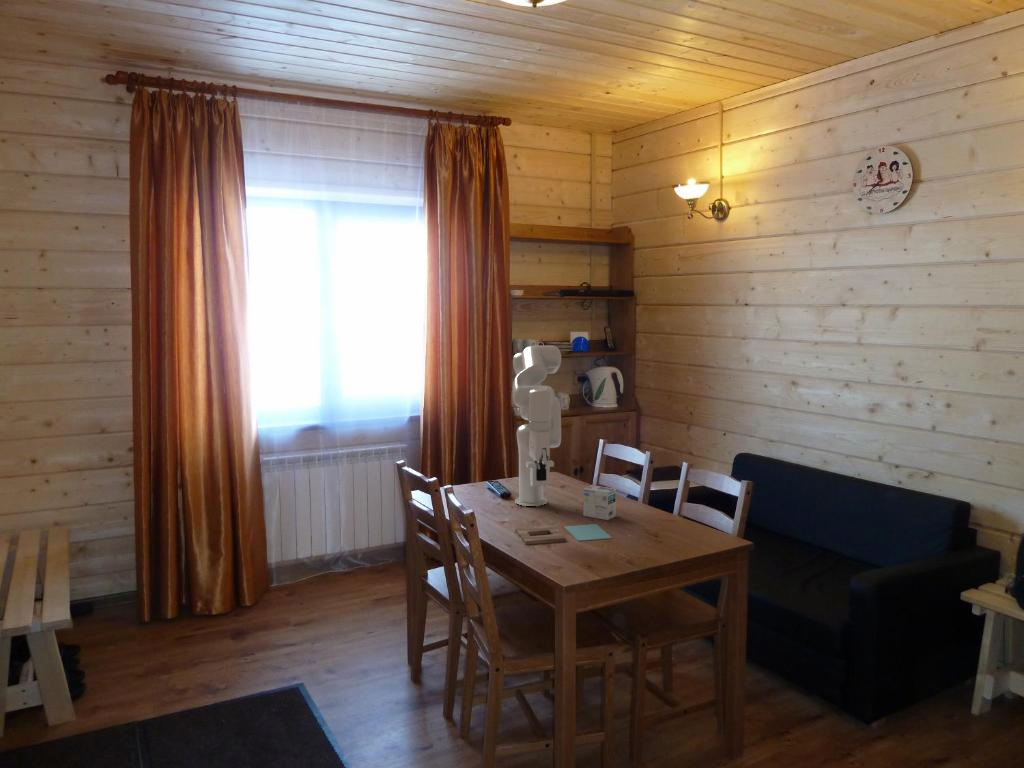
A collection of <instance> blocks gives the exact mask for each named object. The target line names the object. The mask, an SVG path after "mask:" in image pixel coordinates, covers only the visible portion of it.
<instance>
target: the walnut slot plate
mask: <svg viewBox="0 0 1024 768" xmlns="http://www.w3.org/2000/svg"><path fill="white" fill-rule="evenodd" d="M514 530H515V531H514V532H515V534H516V533H517V534H518V535H517V534H516V535H517V536H518V538H519V539H520V538H521V539H522V540H521V539H520V540H521V541H522V543H523V544H524V543H525V544H527V545H537V544H548V543H550V544H551V543H562V542H567V537H566V536H565V535H564V534H563V533H562V532H561V531H560V530H559V529H558V528H557V527H556V526H555V525H545V526H533V527H532V526H531V527H521V528H520V527H519V528H515V529H514ZM547 533H550V534H547ZM535 534H536V535H535ZM525 544H524V545H525Z"/></svg>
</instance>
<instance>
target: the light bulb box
mask: <svg viewBox="0 0 1024 768" xmlns="http://www.w3.org/2000/svg"><path fill="white" fill-rule="evenodd" d="M582 493H583V496H582V498H583V501H582V502H583V505H582V507H583V509H582V510H583V511H582V513H583V515H584V516H583V517H587V516H588V517H589V518H594V519H598V520H599V519H600V520H604V521H605V520H606V521H610V520H611V519H613V518H615V517H617V488H615V487H607V486H599V485H593V484H590V485H589V486H586V487H583V492H582Z"/></svg>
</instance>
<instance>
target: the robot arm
mask: <svg viewBox="0 0 1024 768" xmlns="http://www.w3.org/2000/svg"><path fill="white" fill-rule="evenodd" d="M561 364H562V353H561V350H560V349H559V348H558V347H557V346H556V345H549V344H548V345H530V346H527V347H525V348H524V349H523V350H522V352H518V353H516V354H515V355H514V356H513V358H512V366H513V370H514V373H515V377H514V380H513V382H512V398H513V399H512V400H513V403H514V405H515V406H516V407H518V408H519V412H520V417H521V418H522V419H523V420H525V421H528V423H525V424H521V425H520V426H518V428H517V430H516V440H517V447H518V497H517V498H515V499H514V503H515V504H516V503H517V504H519V505H518V506H520V505H522V506H521V507H526V506H536V507H541V505H542V506H544V504H545V505H546V504H548V500H547V498H546V497H544V486H537V487H532V486H531V485H530V468H527V467H526V462H530V461H538V469H537V481H545V480H546V465H547V461H548V460H550V456H551V454H550V453H551V449H555V448H559V447H560V445H561V443H562V413H561V412H562V411H561V408H562V407H561V403H560V400H559V398H558V397H557V396H556V394H555V390H554V389H553V387H551V386H550V385H542V382H544V381H545V380H546V378H547V376H548V374H551V375H552V374H556V373H557V372H558V370H559V368H560V367H561ZM540 462H542V463H540ZM517 504H516V505H517Z"/></svg>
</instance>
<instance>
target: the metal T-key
mask: <svg viewBox="0 0 1024 768" xmlns="http://www.w3.org/2000/svg"><path fill="white" fill-rule="evenodd" d="M540 463H542V462H540ZM526 467H527V468H530V485H531V486H532V487H537V486H543V487H548V486H550V485H551V484H550V482H551V480H550V478H551V476H550V475H551V472H550V471H551V467H552V468H554V467H555V461H553V460H552V459H551V460H550V459H549V460H547V465H546V480H545V481H537V469H538V461H530V462H526Z"/></svg>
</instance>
